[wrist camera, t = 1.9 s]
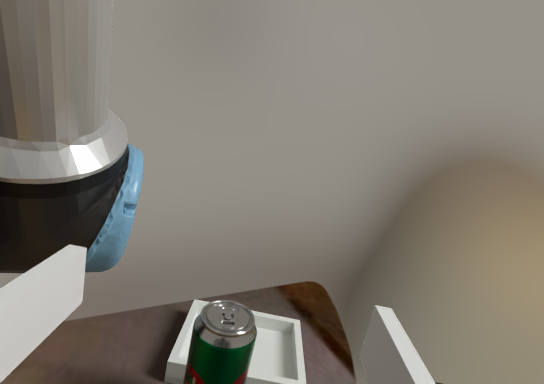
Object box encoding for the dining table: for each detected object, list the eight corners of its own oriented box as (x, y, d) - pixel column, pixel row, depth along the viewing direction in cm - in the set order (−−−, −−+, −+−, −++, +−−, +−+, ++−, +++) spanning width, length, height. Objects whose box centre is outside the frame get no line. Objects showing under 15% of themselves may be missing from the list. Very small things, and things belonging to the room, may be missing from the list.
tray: (164, 382, 33) (167, 361, 33) (191, 315, 44) (194, 299, 43) (300, 408, 34) (306, 388, 33) (295, 336, 44) (299, 320, 44)
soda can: (231, 409, 32) (256, 300, 29) (233, 465, 27) (263, 340, 24) (177, 406, 31) (198, 293, 28) (169, 464, 26) (192, 334, 23)
